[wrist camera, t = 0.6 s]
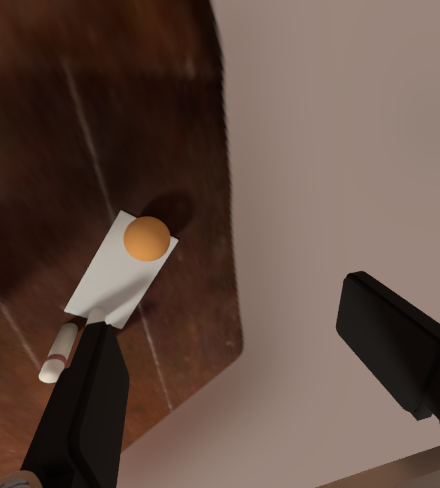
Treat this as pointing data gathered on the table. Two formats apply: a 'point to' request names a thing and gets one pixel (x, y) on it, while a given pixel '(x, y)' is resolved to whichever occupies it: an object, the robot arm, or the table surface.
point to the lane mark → (115, 277)
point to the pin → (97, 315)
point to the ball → (146, 239)
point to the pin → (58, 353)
